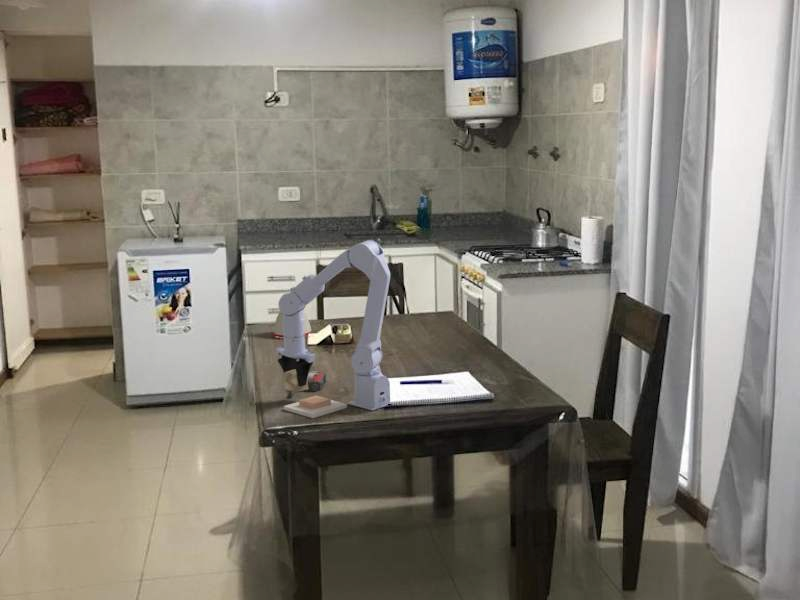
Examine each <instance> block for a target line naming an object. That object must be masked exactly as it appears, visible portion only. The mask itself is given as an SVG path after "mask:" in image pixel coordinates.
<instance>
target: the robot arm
mask: <svg viewBox="0 0 800 600" xmlns="http://www.w3.org/2000/svg"><path fill="white" fill-rule="evenodd" d="M353 267H355V268H357V269H358V270H360V271H361V272H363V273H364V275H366V277H367V278H368V280H369V287H368V292H367V298H366V299H367V300H366V305H365V309H364V316H363V320H362V321H363V322H362V328H361V335H360V338H359V341H358V342H357V344H356V349H355V352H354V353H353V355H352V356H351V357H350V366H351V368H352V370H353V381H354V382H353V383H354V384H353V385H354V400H351V401H349V402H348V403H347V405H350V406H354V407H357V408H361V409H365V410H368V411H375V410H377V409H381V408H384V407H388V406H389V405H388V404H389V403H390V402H391V387H390V385H391V384H390V383H391V382H390V380H389V377H388V376H386V375H384V374H383V373H382V371H381V367H380V364H381V362H382V361H383V352H382V341H381V333H382V325H383V323H384V315H385V310H386V306H387V305H386V304H387V299H388V292H389V287H390V281H391V271H390V269H389V265H388V263H387V260H386V257H385V251H384V249H383V248H382V246H380V245H379V243H378V242H376V241H375V240H372V239H367V240H364V241H362V242H360V243H356V244H354V245H352V246H351V247H350V248H349V249H348V248H347V249H346V250H345V251H343V252H342V253H340V254H339V255H337V256H336V258H334V259H333V260H332V261H331V262H330V263H329V264H328V265H326V267H324V269H322V270H321V271H320V272H319V273H318V274H313V273H310V274H309V275H308V274H305V275H304V276H303V277H302V278H301V279H302V281H300V282H299V283H298V284H297V285H295V286H292V287H290V288H289V290H290V292H288V293H284V294H282V296H281V297H280V298H279V300H278V309H279V312H280V311H281V312H282V315H283V336H284V339H283V347H277V348H275V355H276V356H277V357H278V356H281V358H278V359H277V362H278V364H279V365H280V367H281V369H282V371H283V374H284V375H285V372H287V371H291V370H295V369H296V373H297V380H298V385H299V386H304V385H306V382H307V377H308V373H309V372H310V371H311V368H312V365H313V363H314V362H316V356H315V355H316V354H315V353H311V352H310V351H309V350H308V349H307V348H306V338H305V335H304V318H303V311H304V309H305V308H306V307H307V305H308V304H309V303H311V302H312V301H314V300H315V299H316V298H317V297H318V296H320V294H322V293H323V292H324V291H325V287H326V286H325V285H326V284H327V283H328V282H329V281H330V280H332V279H333V278H334V277H336V276H337V275H338V274H340V273H341V272H342V271H343V270H344V269H346V268H347V269H349V268H353Z"/></svg>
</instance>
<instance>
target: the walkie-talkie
mask: <svg viewBox="0 0 800 600" xmlns="http://www.w3.org/2000/svg"><path fill="white" fill-rule="evenodd" d="M326 382H327V375H326V373H325V372H324V371H315V370H314V371H313V370H312V371H311V370H309V373H308V389H306V390H302V391H301V392H320V391H322V390H323V389H324V386H325V384H326ZM295 393H296V392H293V391H290V393H289V396H291V397H293V396H294V395H295Z"/></svg>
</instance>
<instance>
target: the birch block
mask: <svg viewBox="0 0 800 600" xmlns="http://www.w3.org/2000/svg"><path fill="white" fill-rule="evenodd" d="M284 384H285V390H286V391H289V392H291V391H293V392H295V393H298V392H303V391H302V390H306V389H308V377H307V382H306V385H304V386H299V385H298V380H297V373H296V369H295V370H291V371H287V372H285V374H284Z"/></svg>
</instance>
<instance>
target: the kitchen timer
mask: <svg viewBox="0 0 800 600" xmlns="http://www.w3.org/2000/svg"><path fill="white" fill-rule="evenodd" d="M303 318H304V335H308V334H309V333H312V327H311V326H312V325H311V324H310V320H309V317H308V315H307V314H306V312H305V311H304V310H303ZM274 335H275V336H279V337H284V336H283V315H282V312H281V311H280V310H279V312H278V314H277V316H276V319H275V323H274V327H273V336H274Z"/></svg>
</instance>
